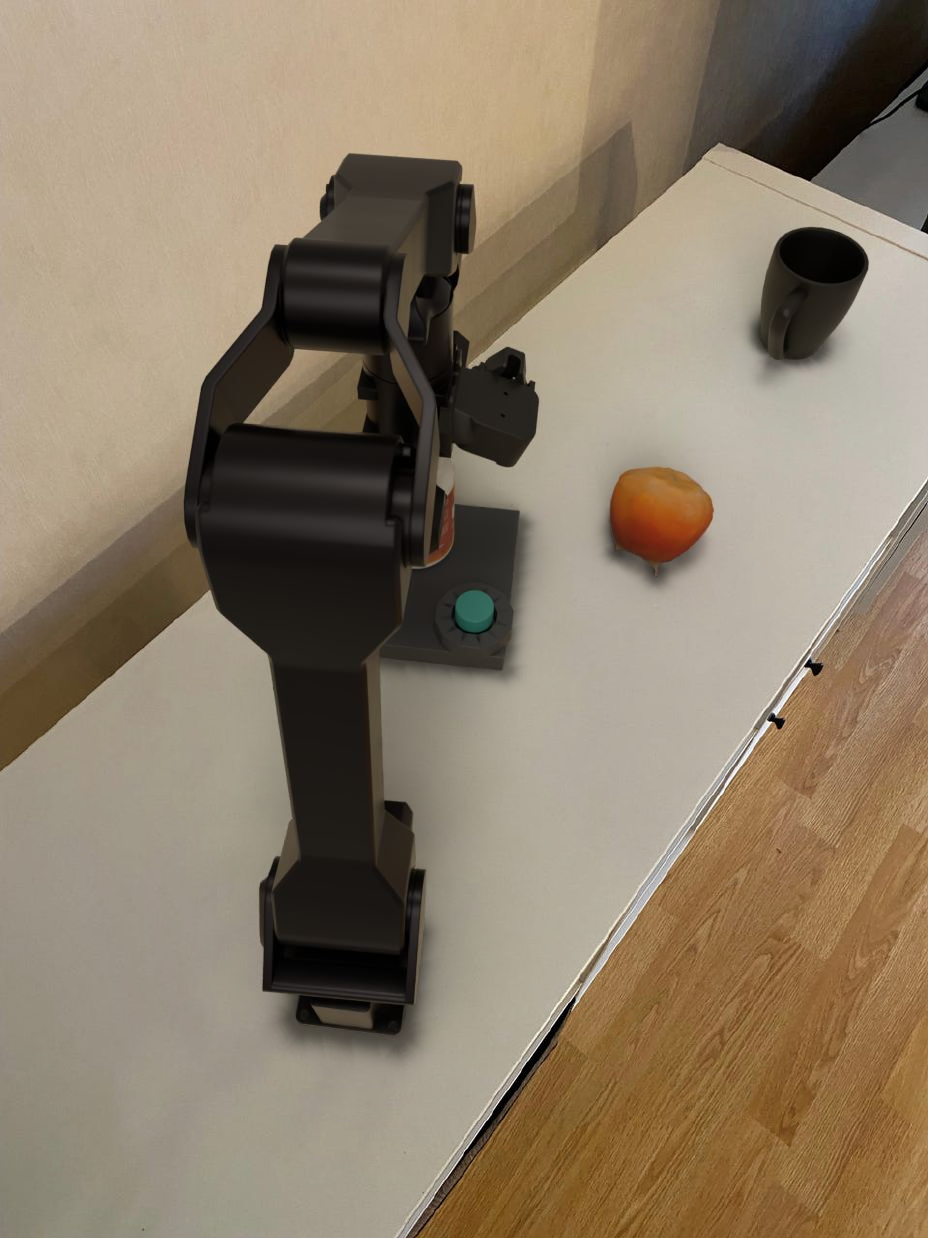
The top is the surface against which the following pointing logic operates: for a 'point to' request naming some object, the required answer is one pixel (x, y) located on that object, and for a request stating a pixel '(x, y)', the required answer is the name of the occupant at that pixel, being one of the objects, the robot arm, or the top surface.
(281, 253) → the robot arm
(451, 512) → the pill bottle
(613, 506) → the fruit
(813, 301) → the mug
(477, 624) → the button
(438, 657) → the scale
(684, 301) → the top surface
